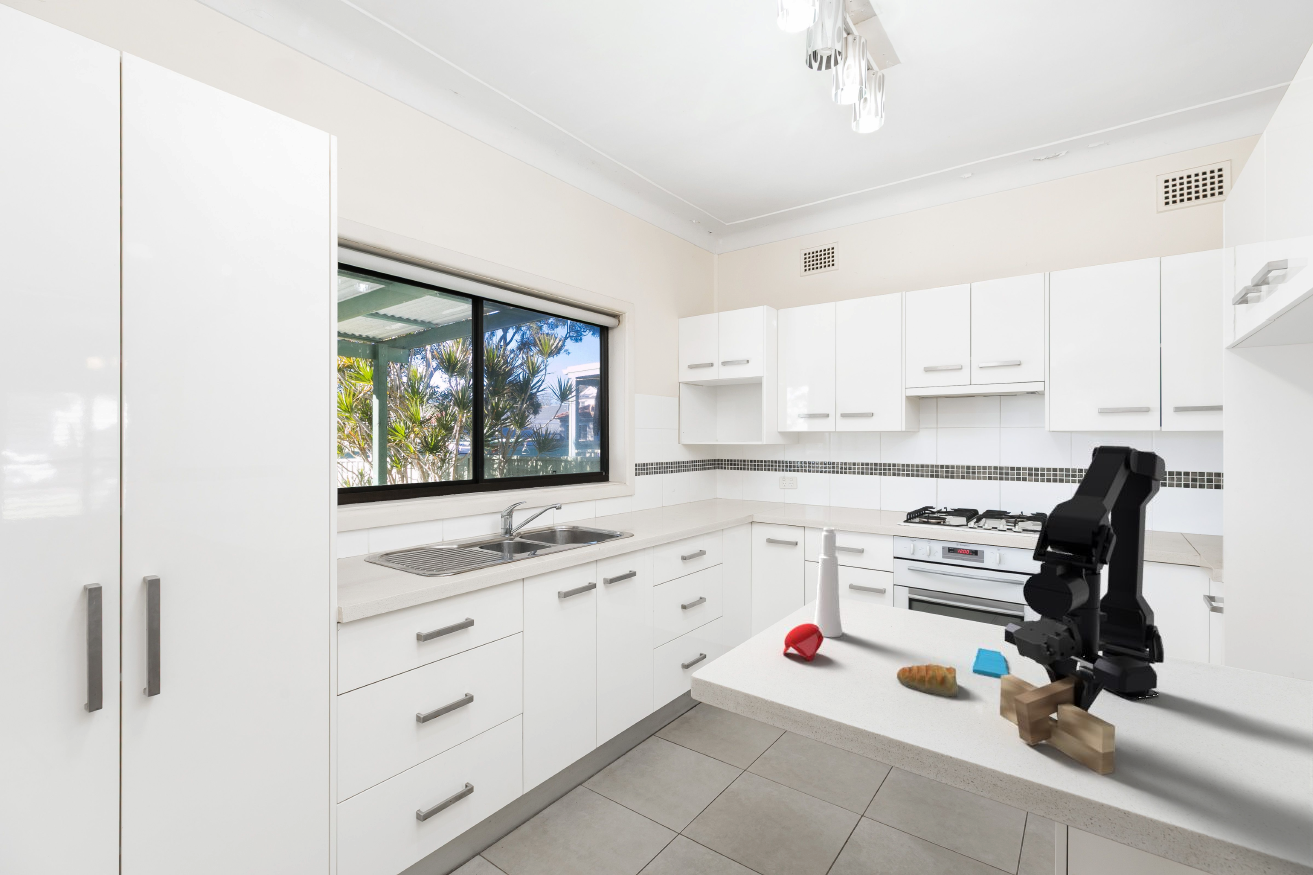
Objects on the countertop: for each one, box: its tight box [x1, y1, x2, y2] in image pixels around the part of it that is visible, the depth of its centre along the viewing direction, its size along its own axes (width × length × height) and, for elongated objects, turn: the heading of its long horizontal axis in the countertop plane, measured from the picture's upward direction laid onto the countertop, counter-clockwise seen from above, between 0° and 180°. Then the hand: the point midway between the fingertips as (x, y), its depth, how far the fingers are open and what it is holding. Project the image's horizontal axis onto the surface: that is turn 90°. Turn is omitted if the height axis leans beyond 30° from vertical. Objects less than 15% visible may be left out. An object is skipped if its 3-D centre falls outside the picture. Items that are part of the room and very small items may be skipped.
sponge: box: [972, 647, 1010, 679], centre depth 111 cm, size 2×12×6 cm
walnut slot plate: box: [1014, 676, 1089, 746], centre depth 84 cm, size 10×2×6 cm, turn 104°
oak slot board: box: [999, 673, 1116, 776], centre depth 84 cm, size 16×2×6 cm, turn 14°
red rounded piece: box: [782, 622, 825, 661], centre depth 114 cm, size 8×6×6 cm
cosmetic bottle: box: [813, 526, 843, 638], centre depth 127 cm, size 6×6×22 cm
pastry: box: [896, 663, 959, 697], centre depth 102 cm, size 9×7×4 cm
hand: (1071, 712), depth 85 cm, fingers closed on walnut slot plate, 2 cm apart
